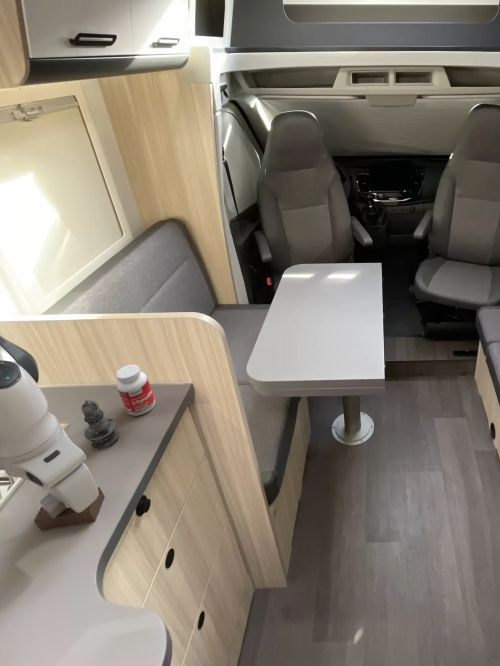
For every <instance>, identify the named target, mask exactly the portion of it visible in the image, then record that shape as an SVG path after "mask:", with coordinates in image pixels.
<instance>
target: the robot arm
mask: <svg viewBox="0 0 500 666" xmlns="http://www.w3.org/2000/svg"><path fill="white" fill-rule="evenodd" d="M36 360H37V359H35V357H34V356H33V355H32V354H31V353H30V352H29V351H27V350H25V349H24V348H22V347H21V346H19V345H17V344H15V343H14V342H11V341H10V340H8V339H6V338H5V337H3V336H2V335H0V466H1V468H2V469H3V470H4V472H5V473H6V474H7V475H8V476H10V477H12V478H20V479H23V480H26V481H30V482H31V483H33V484H34V485H36V486H37V487H38V488H40V489H42V490H43V491H45V492H46V493H47V494H51V495H52V496H54V497H55V498H57V499H58V500H60V501H61V503H62V504H63V505H64V506H66V507H67V508H69V507H70V508H71V509H73V510H74V511H75V512H77V513H80V512H82V511H83V510H85V509H86V508H87V507H88V506H90V505H91V504H92V503H93V502H94V501H95V500H96V499H97V497H98V495H99V492H98V489H97V487H98V486H97V483H96V481H95V479H94V477H93V475H92V473H91V471H90V469H89V467H88V466H87V465H86V463H85V461H86V460H87V455H86V454H85V452H84V451H83V449H81V448H80V447H79V446H78V445H77V444H76V443H75V442H74V441H73V440H72V439H70V437H69V436H68V434H67V432H66V431H65V429H63V427H62V425H61V424H60V422H59V420H58V419H57V417H56V416H55V415H54V414H53V413H52V412H51V411H50V409H49V403H48V400H47V398H46V396H45V394H44V392H43V391H42V389H41V388H40V386H39V384H38V383H39V379H40V371H39V366H38V363H37V361H36Z"/></svg>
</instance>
